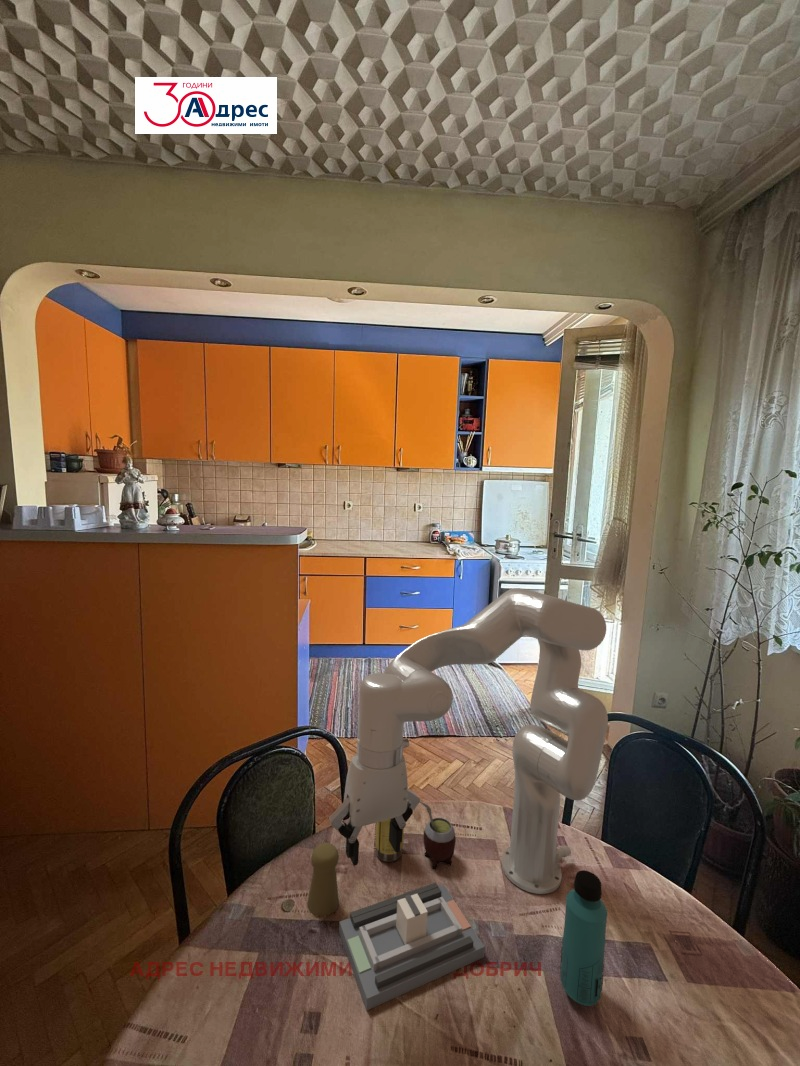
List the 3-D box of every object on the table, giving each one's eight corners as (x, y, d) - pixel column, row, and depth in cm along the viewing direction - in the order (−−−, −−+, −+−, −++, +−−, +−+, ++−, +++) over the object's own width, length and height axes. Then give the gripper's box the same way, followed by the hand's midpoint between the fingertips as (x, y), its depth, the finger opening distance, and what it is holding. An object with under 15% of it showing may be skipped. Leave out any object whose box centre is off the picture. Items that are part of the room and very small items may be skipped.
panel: (443, 893, 93) (444, 878, 93) (483, 957, 80) (485, 940, 80) (338, 931, 83) (339, 915, 83) (366, 1010, 71) (367, 991, 71)
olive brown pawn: (332, 919, 86) (335, 864, 85) (302, 912, 87) (304, 857, 86) (342, 893, 92) (345, 840, 91) (314, 886, 93) (316, 835, 92)
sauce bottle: (408, 854, 103) (413, 768, 101) (387, 868, 98) (392, 779, 97) (388, 837, 107) (393, 756, 106) (368, 851, 103) (372, 766, 102)
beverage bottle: (597, 1025, 70) (608, 903, 69) (553, 999, 74) (563, 882, 73) (603, 988, 76) (614, 874, 75) (562, 965, 80) (571, 856, 78)
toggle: (415, 918, 84) (417, 891, 84) (426, 938, 81) (427, 910, 80) (395, 926, 83) (397, 898, 82) (405, 946, 79) (407, 917, 79)
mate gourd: (457, 854, 104) (461, 790, 103) (447, 880, 96) (452, 811, 95) (426, 843, 106) (430, 781, 105) (414, 867, 99) (418, 801, 98)
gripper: (415, 731, 83) (410, 825, 84) (322, 748, 75) (317, 851, 77) (436, 752, 76) (429, 854, 77) (335, 774, 69) (330, 886, 70)
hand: (373, 852), depth 77 cm, fingers open, 6 cm apart
